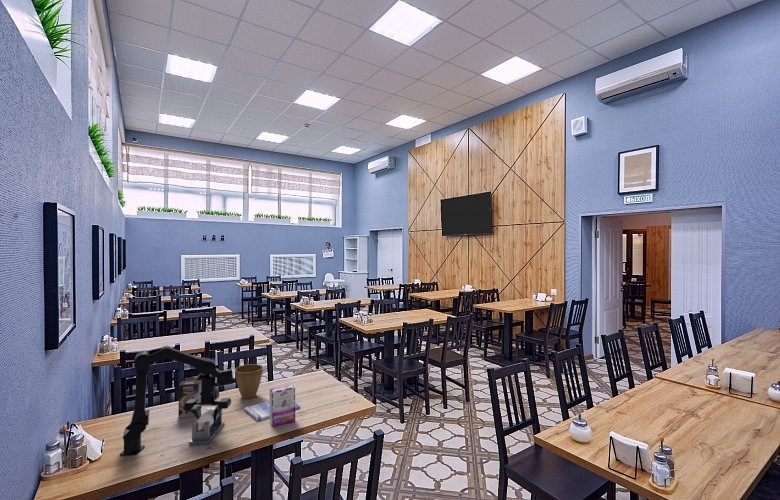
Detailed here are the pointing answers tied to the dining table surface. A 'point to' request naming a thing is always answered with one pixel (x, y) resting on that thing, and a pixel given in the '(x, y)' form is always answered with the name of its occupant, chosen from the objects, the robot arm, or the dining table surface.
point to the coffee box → (188, 395)
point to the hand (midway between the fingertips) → (207, 422)
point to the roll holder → (206, 431)
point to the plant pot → (248, 379)
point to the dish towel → (261, 410)
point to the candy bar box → (282, 405)
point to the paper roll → (206, 418)
